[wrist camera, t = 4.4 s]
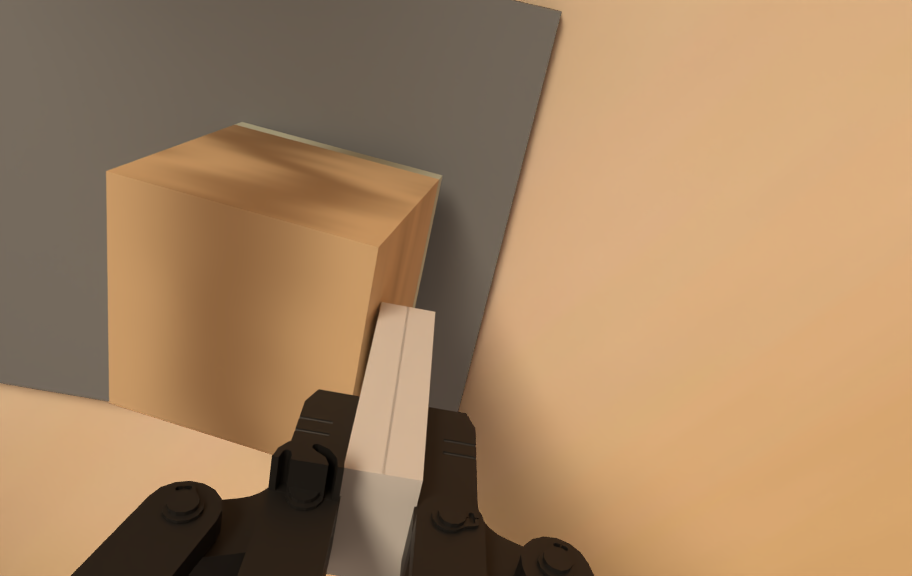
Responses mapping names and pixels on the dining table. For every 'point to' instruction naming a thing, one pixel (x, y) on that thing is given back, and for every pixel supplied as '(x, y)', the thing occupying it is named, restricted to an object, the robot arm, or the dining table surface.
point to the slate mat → (262, 104)
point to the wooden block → (255, 276)
